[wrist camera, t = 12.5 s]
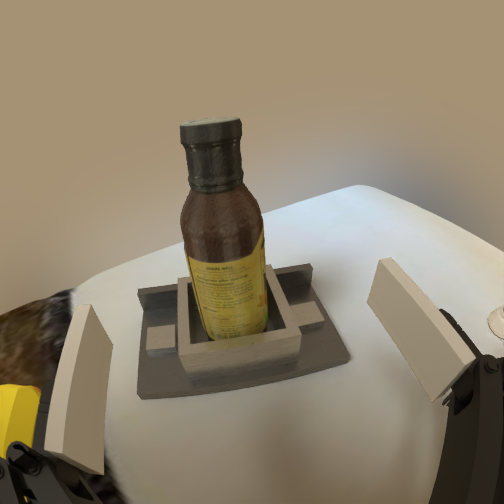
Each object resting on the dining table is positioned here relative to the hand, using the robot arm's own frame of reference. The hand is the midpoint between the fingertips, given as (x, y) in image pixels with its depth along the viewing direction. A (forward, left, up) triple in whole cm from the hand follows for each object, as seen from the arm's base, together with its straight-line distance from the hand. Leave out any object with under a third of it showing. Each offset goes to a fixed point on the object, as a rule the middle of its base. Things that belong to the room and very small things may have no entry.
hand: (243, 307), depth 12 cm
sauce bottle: (0, +10, -13) cm, 17 cm away
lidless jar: (+34, -1, -15) cm, 37 cm away
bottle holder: (0, +10, -14) cm, 18 cm away
